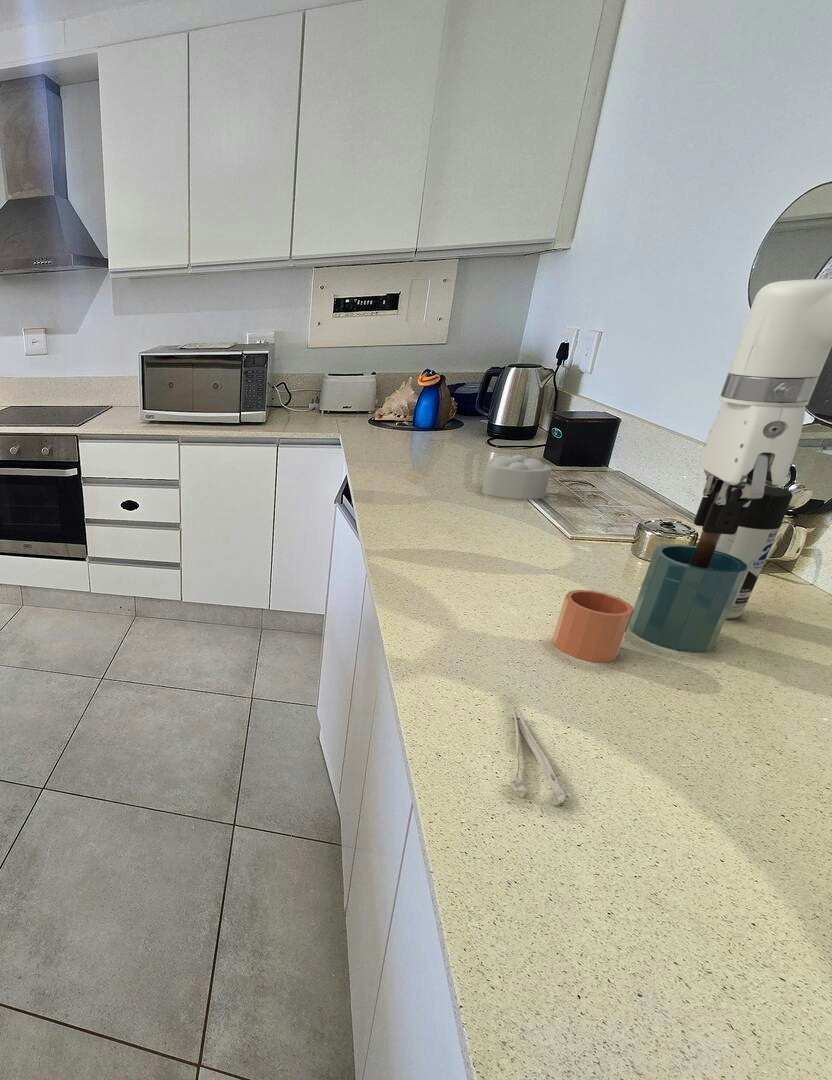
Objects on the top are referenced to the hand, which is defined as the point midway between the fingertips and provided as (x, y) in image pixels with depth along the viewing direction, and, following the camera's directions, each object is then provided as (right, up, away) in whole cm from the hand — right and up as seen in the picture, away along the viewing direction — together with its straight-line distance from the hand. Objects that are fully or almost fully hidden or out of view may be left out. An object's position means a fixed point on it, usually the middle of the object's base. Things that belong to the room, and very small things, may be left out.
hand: (713, 528), depth 77 cm
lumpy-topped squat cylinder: (+19, +10, +66) cm, 70 cm away
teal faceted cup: (+1, -16, +7) cm, 17 cm away
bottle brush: (+1, -12, +5) cm, 13 cm away
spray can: (+14, -13, +14) cm, 23 cm away
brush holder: (-14, -17, +5) cm, 23 cm away
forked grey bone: (-34, -25, -11) cm, 44 cm away
